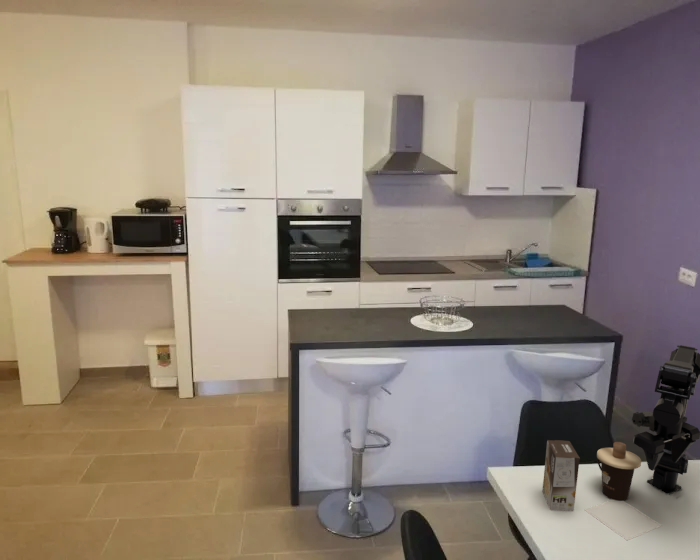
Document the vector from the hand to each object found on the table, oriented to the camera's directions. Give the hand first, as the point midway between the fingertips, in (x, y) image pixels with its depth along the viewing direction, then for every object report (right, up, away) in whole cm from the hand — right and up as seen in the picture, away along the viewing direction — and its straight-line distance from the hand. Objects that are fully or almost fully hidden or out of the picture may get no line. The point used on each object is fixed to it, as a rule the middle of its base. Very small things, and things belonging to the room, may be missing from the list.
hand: (662, 465), depth 142 cm
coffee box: (-26, -12, +6) cm, 29 cm away
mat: (-11, -13, -1) cm, 18 cm away
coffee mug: (-8, -11, +10) cm, 17 cm away
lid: (-8, -1, +8) cm, 11 cm away
